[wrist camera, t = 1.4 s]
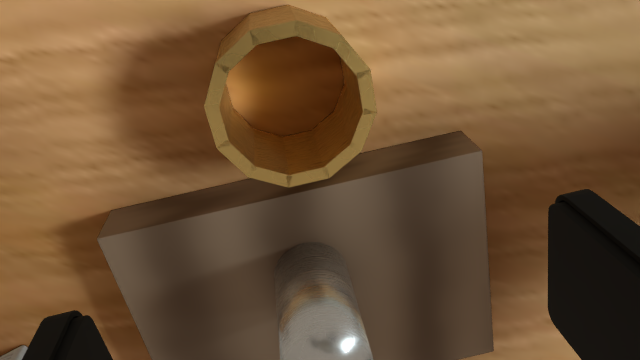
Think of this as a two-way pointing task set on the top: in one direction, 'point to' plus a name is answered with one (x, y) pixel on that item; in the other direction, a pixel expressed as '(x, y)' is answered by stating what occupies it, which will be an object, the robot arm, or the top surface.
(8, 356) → the skincare box
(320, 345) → the piston post
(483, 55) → the top surface
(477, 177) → the walnut stand
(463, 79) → the top surface
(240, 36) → the brass ring
